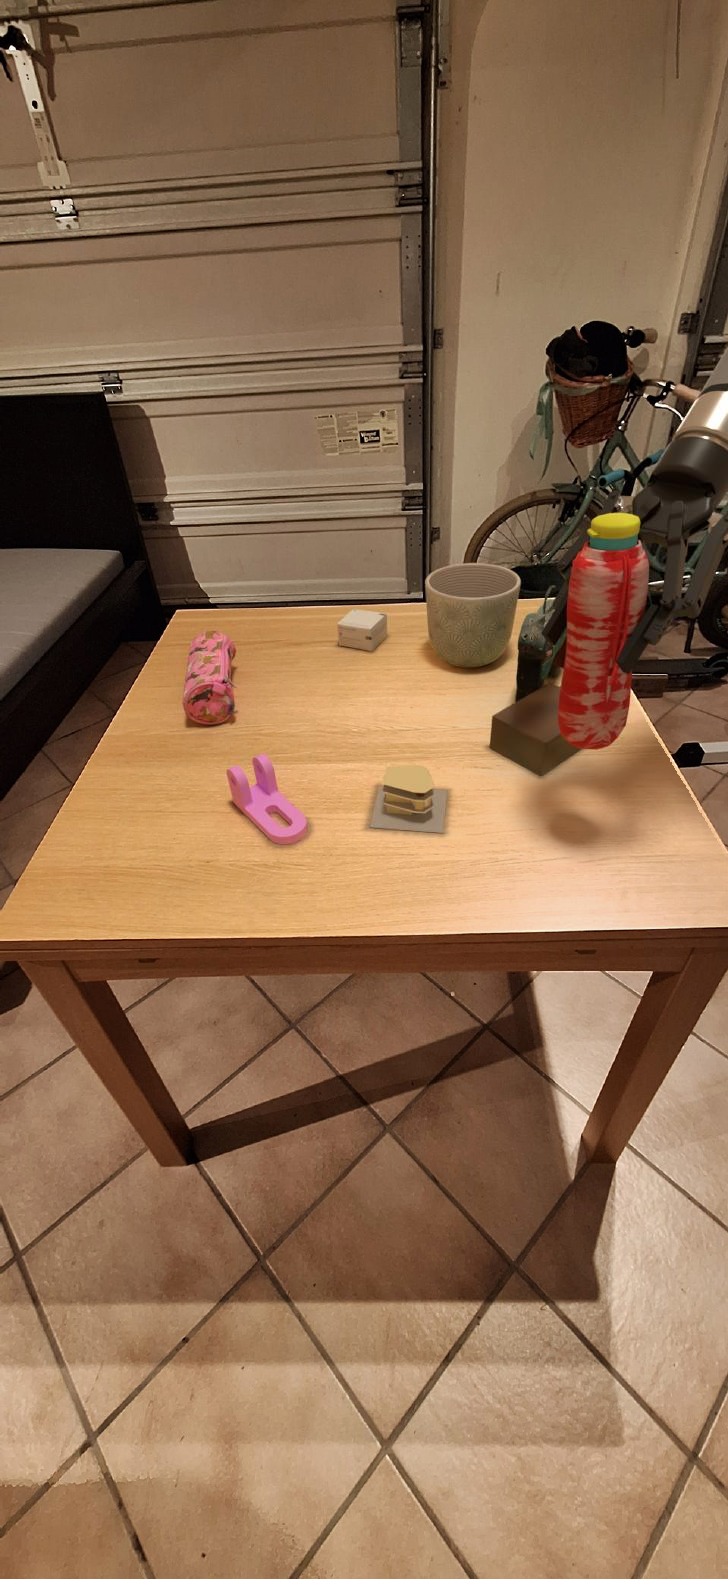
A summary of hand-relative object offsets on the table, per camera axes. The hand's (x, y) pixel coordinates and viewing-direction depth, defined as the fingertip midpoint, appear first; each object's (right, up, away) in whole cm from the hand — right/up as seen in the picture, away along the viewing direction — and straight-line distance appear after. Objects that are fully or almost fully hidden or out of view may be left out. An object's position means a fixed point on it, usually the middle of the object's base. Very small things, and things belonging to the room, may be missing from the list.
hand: (583, 653), depth 67 cm
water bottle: (+3, -8, +9) cm, 12 cm away
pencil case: (-51, +3, +50) cm, 71 cm away
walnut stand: (+5, -7, +32) cm, 34 cm away
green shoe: (+7, +3, +44) cm, 45 cm away
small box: (-23, +16, +64) cm, 70 cm away
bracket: (-36, -19, +23) cm, 46 cm away
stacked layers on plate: (-17, -17, +22) cm, 33 cm away
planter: (-3, +11, +56) cm, 57 cm away
